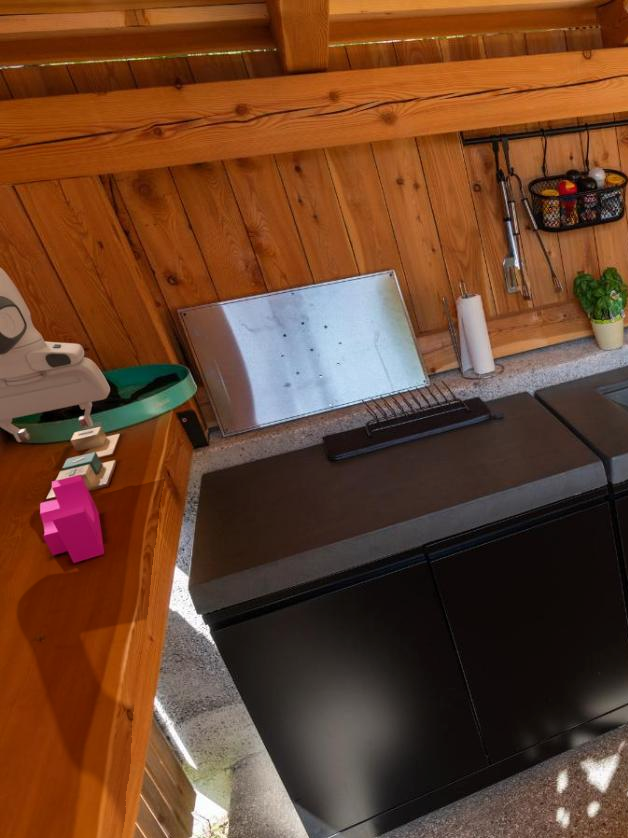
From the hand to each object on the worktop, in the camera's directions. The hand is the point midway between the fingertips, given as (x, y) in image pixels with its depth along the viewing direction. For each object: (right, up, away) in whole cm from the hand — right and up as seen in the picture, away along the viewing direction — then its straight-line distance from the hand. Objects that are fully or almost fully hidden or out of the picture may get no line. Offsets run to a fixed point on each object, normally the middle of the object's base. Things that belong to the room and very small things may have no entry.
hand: (56, 433), depth 136 cm
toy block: (+18, -18, -17) cm, 31 cm away
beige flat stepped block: (-5, -3, +13) cm, 15 cm away
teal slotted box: (+2, -7, +4) cm, 8 cm away
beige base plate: (+3, -9, +2) cm, 9 cm away
